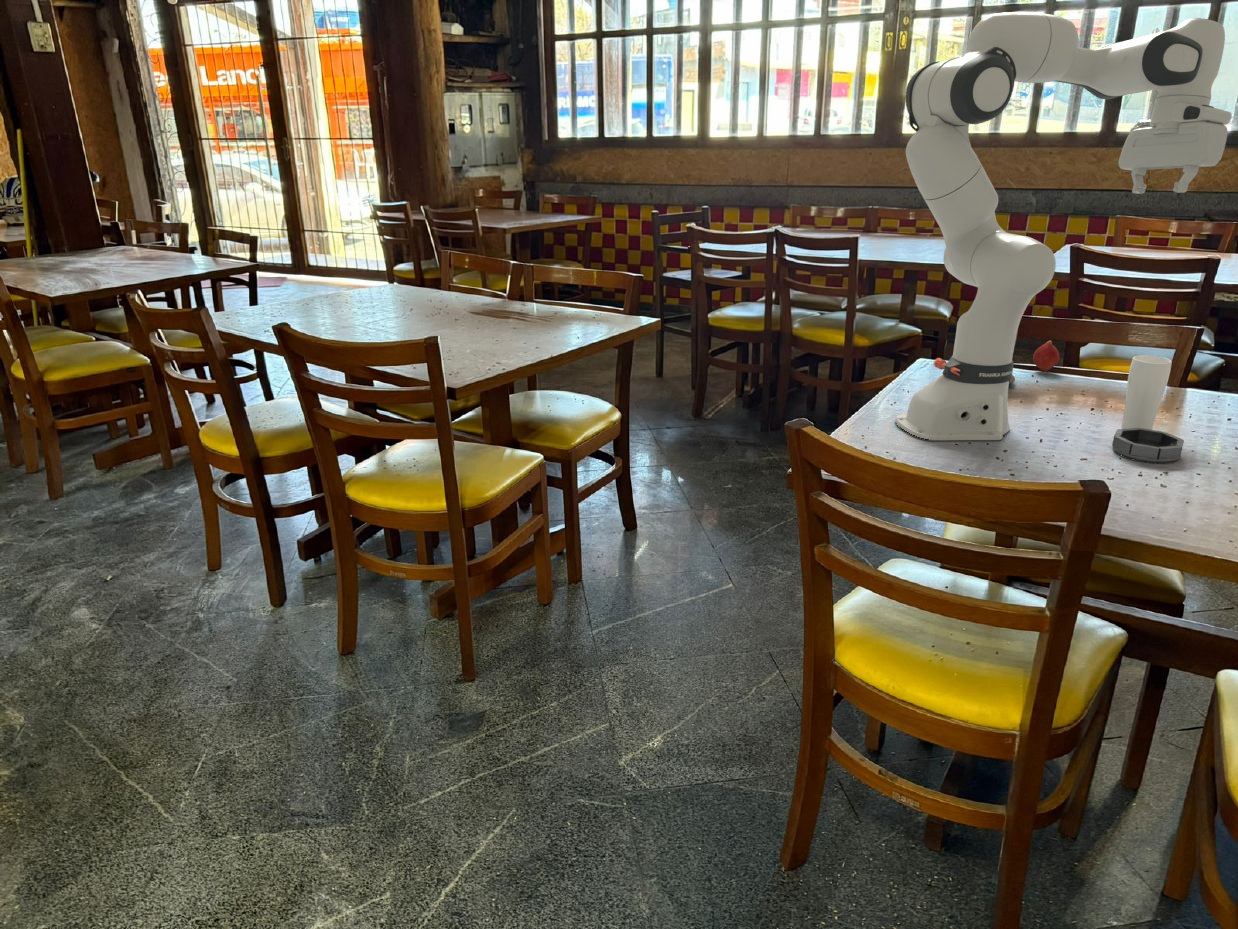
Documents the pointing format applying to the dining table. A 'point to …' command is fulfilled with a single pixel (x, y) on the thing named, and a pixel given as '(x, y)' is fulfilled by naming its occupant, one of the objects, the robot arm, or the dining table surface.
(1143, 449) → the ring
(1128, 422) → the drinking glass
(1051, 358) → the onion
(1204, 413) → the dining table surface
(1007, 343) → the robot arm
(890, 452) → the dining table surface
